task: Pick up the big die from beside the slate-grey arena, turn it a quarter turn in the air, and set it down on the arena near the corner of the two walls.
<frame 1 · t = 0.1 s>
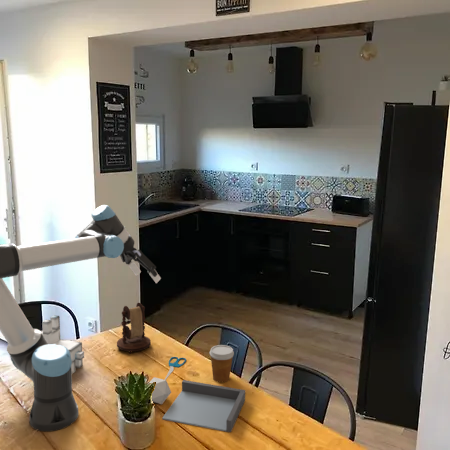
hand: (148, 277, 189), 36 cm above the table, tool tilted 35°, fingers open, 13 cm apart
scissors: (172, 370, 187), on the table
die: (157, 401, 164), on the table
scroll: (133, 347, 206), on the table
disposable coffee cup: (221, 379, 180), on the table
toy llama: (63, 367, 186), on the table
arena: (202, 410, 158), on the table
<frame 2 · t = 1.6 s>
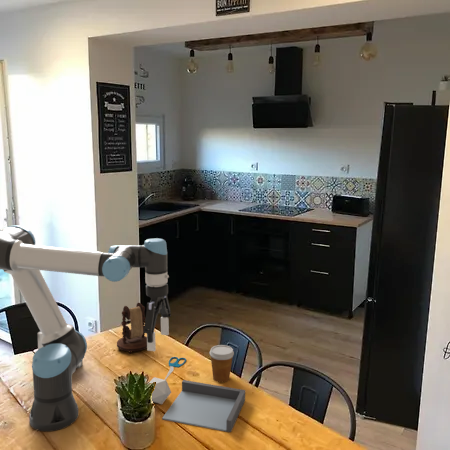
hand: (158, 342, 162), 21 cm above the table, tool pointing down, fingers open, 13 cm apart
nothing on the table moved.
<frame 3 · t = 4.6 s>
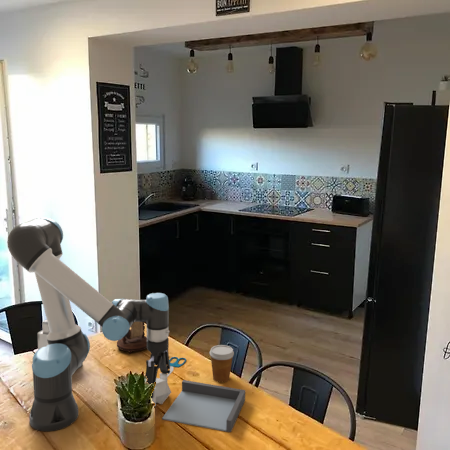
hand: (157, 397, 163), 1 cm above the table, tool pointing down, fingers closed on die, 9 cm apart
die: (157, 401, 164), on the table, touching gripper
everything else where it was.
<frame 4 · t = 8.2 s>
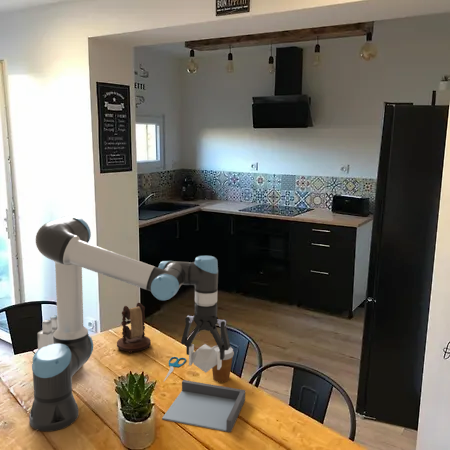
hand: (205, 365, 157), 16 cm above the table, tool pointing down, fingers closed on die, 9 cm apart
die: (205, 369, 157), point 14 cm above the table, touching gripper
everything else where it was.
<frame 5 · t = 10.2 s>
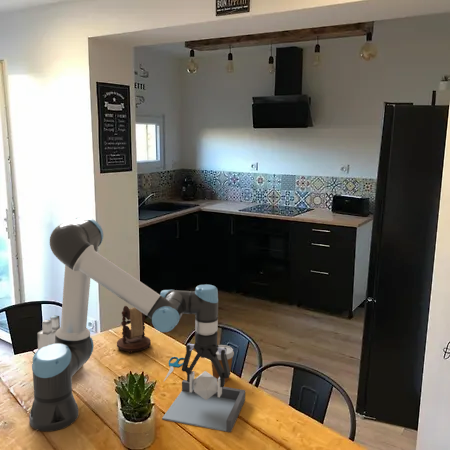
hand: (205, 392, 158), 6 cm above the table, tool pointing down, fingers closed on die, 9 cm apart
die: (205, 396, 159), point 4 cm above the table, touching gripper
everything else where it was.
when the fingers open (2 cm above the table, at t = 12.0 s): die stays where it is, resting on arena.
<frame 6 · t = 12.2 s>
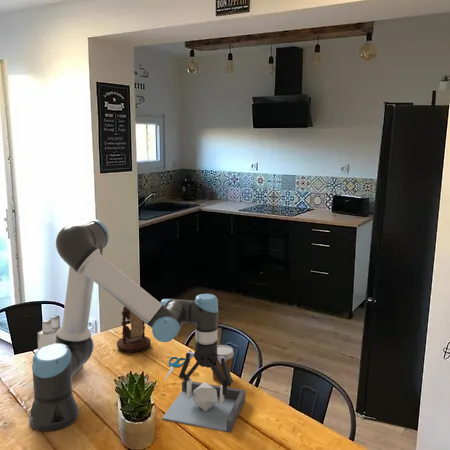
hand: (205, 400, 159), 3 cm above the table, tool pointing down, fingers open, 11 cm apart
die: (205, 407, 159), resting on arena
everything else where it was.
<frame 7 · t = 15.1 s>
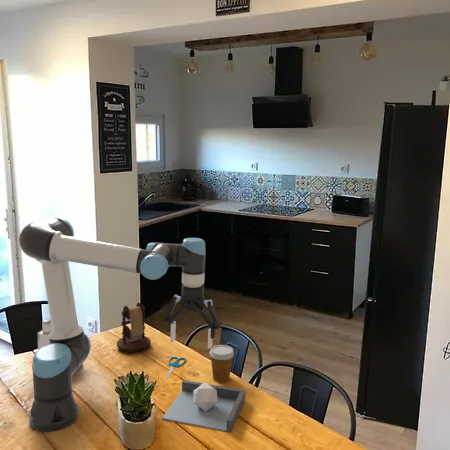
hand: (191, 343, 159), 22 cm above the table, tool pointing down, fingers open, 13 cm apart
nothing on the table moved.
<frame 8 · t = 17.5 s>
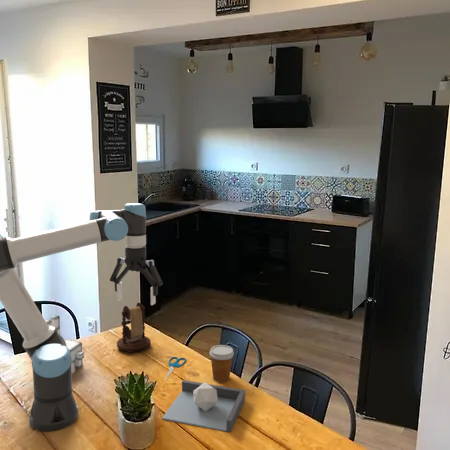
hand: (136, 302, 171), 32 cm above the table, tool pointing down, fingers open, 13 cm apart
nothing on the table moved.
at the end: die 0.0 cm from the target spot on the arena, point 0.3 cm above the arena's base; die touching arena; the gripper is holding nothing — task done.
